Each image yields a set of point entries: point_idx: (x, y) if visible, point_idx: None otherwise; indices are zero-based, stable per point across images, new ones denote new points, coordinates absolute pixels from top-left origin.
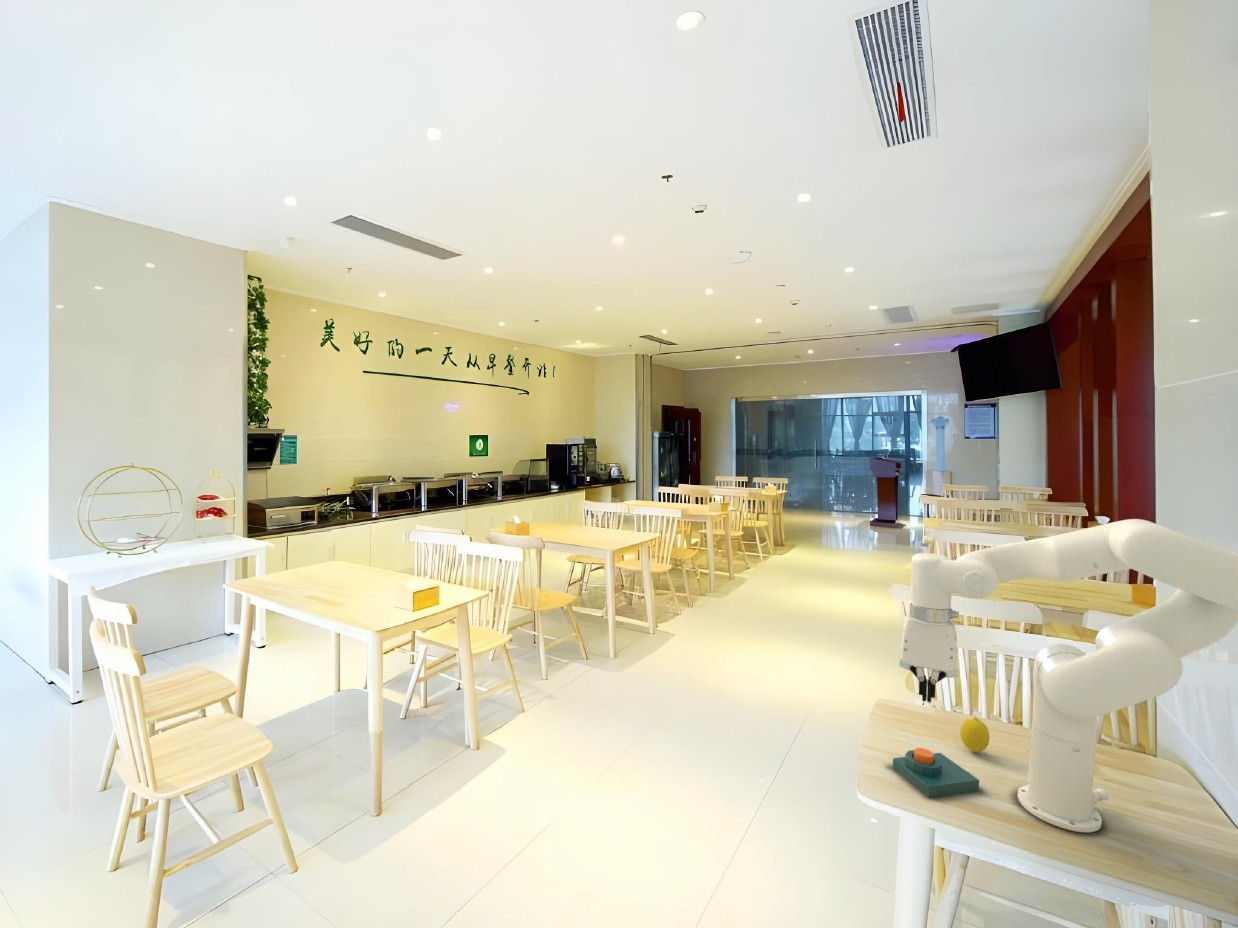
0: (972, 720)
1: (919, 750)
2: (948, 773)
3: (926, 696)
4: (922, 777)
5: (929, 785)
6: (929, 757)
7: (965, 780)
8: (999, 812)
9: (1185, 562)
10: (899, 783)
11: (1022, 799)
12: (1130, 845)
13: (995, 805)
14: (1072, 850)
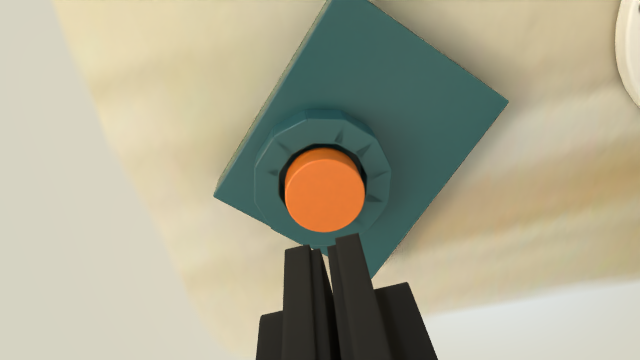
0: None
1: (306, 196)
2: (407, 145)
3: (328, 281)
4: None
5: (370, 271)
6: (354, 218)
7: (465, 146)
8: (552, 175)
9: None
10: (273, 252)
11: (635, 78)
12: None
13: (542, 144)
14: None
